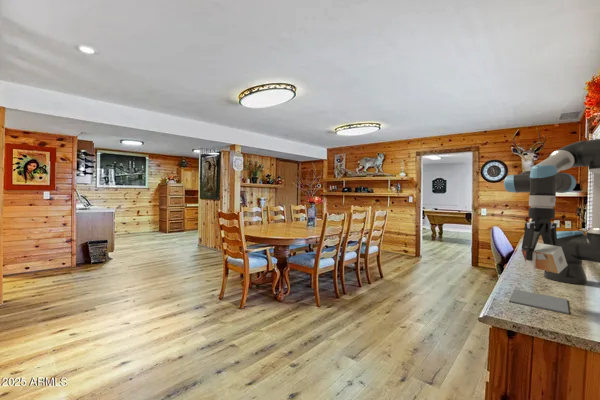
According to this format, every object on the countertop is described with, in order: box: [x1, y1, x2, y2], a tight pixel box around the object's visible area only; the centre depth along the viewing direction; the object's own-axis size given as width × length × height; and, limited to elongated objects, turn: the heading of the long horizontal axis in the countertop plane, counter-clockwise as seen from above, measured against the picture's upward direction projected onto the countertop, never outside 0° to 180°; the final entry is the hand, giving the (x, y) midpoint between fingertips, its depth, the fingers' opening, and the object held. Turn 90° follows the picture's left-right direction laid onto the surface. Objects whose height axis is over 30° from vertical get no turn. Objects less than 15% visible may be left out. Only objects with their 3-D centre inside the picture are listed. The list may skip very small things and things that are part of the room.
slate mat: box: [508, 288, 570, 315], centre depth 108 cm, size 18×16×1 cm
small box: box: [520, 242, 567, 274], centre depth 107 cm, size 8×6×10 cm
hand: (539, 268), depth 108 cm, fingers closed on small box, 9 cm apart
